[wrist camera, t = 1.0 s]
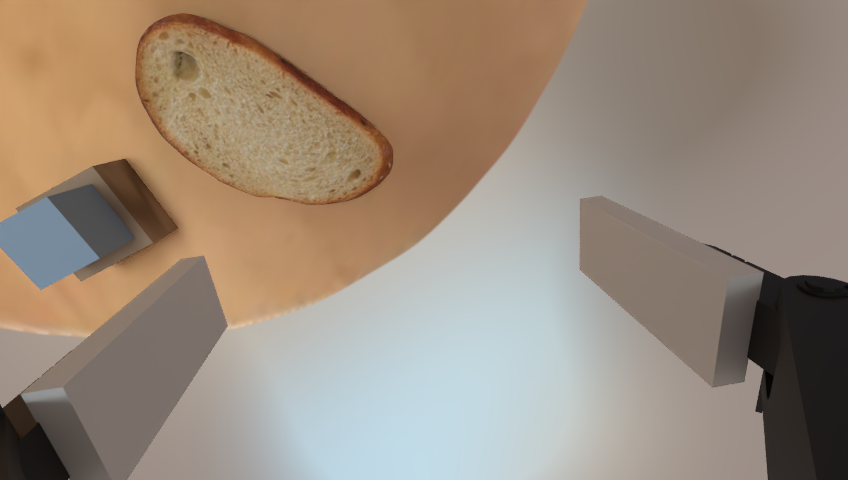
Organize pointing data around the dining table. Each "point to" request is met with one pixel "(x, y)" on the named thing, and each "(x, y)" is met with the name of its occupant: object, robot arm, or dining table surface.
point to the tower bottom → (119, 209)
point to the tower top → (62, 234)
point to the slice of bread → (254, 116)
